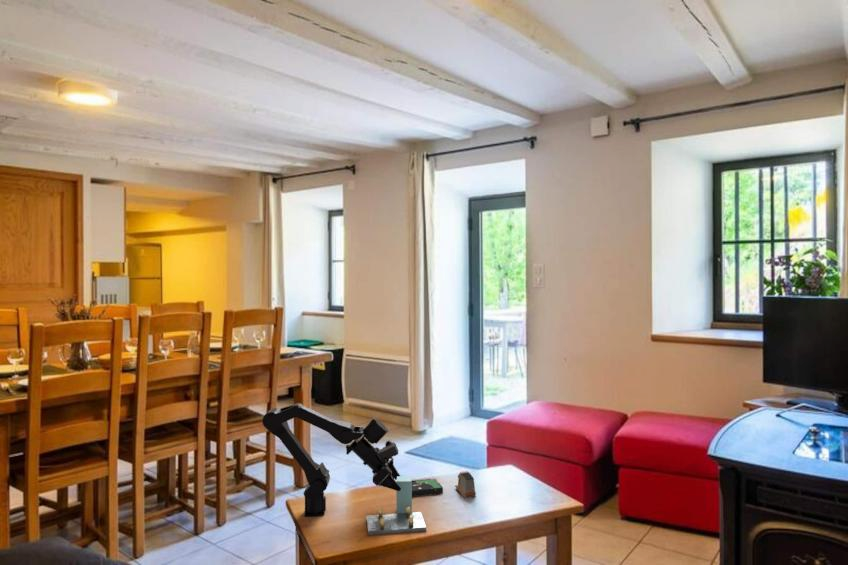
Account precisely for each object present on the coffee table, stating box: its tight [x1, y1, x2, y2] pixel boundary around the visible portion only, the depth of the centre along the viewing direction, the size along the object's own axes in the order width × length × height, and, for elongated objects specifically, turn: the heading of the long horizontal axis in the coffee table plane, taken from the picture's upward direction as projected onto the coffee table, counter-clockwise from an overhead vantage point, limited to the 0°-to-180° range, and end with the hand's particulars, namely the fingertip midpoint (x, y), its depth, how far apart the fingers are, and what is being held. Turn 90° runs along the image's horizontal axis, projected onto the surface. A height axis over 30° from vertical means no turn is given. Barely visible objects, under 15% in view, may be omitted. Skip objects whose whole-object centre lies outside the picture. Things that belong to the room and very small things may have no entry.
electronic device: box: [454, 470, 477, 498], centre depth 211 cm, size 4×10×8 cm, turn 20°
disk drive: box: [412, 478, 444, 498], centre depth 214 cm, size 10×3×15 cm
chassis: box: [365, 506, 427, 536], centre depth 184 cm, size 18×12×4 cm, turn 98°
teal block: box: [395, 475, 413, 514], centre depth 195 cm, size 5×5×11 cm
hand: (400, 485), depth 195 cm, fingers open, 9 cm apart
